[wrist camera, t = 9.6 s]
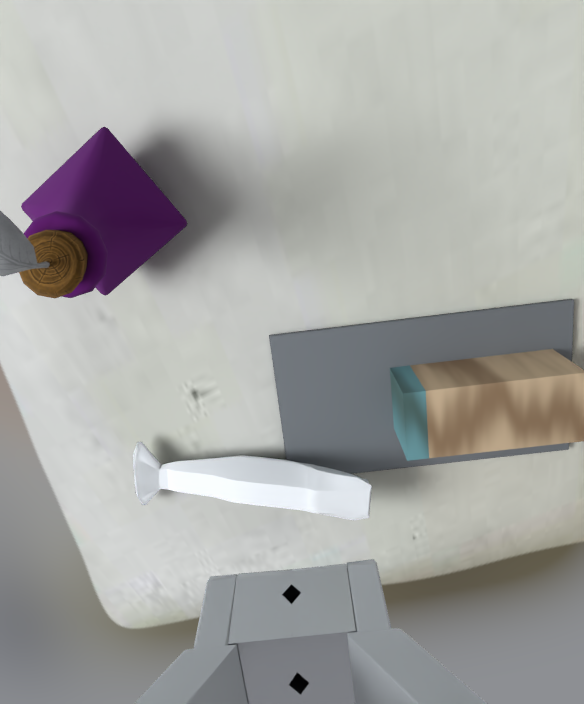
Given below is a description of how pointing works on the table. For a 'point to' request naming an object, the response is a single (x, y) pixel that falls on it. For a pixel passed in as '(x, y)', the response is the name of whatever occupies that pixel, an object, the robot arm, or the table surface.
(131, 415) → the table surface
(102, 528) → the table surface
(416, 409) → the oak block
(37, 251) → the perfume bottle
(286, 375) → the rubber mat
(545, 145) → the table surface
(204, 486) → the white fish figurine
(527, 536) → the table surface
